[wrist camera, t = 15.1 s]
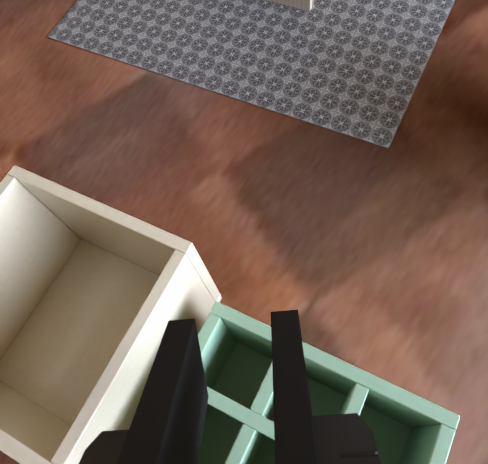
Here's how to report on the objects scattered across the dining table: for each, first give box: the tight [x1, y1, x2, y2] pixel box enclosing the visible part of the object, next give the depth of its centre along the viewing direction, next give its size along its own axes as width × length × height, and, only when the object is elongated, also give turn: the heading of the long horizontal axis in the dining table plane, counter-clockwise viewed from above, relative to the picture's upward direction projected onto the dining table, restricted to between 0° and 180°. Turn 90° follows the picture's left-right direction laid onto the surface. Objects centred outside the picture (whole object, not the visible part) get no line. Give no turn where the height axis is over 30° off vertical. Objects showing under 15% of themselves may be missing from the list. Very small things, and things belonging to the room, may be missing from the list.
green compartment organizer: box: [198, 301, 460, 464], centre depth 25 cm, size 9×13×7 cm
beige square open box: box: [0, 165, 222, 464], centre depth 28 cm, size 12×12×10 cm
